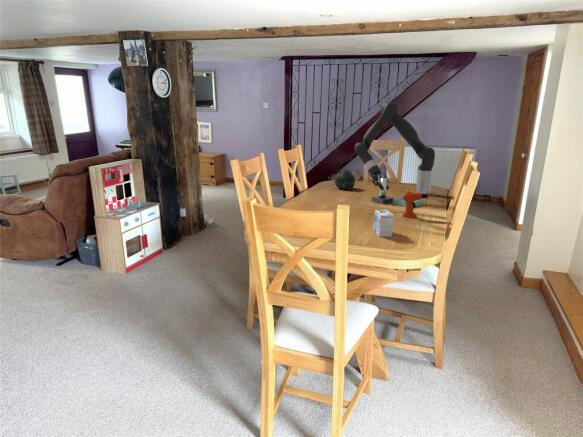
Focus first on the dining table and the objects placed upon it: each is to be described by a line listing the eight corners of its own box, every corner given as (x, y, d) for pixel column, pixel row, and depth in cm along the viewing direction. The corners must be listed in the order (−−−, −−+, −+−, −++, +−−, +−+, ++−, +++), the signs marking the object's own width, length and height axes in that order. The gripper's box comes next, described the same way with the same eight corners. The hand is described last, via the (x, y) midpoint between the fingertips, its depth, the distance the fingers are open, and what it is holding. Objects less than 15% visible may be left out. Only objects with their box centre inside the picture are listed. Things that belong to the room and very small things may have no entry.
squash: (342, 178, 319) (337, 165, 308) (360, 181, 310) (355, 168, 299) (335, 192, 313) (329, 180, 302) (352, 196, 305) (347, 183, 294)
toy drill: (437, 217, 226) (437, 190, 222) (402, 219, 231) (401, 193, 228) (437, 215, 230) (436, 189, 227) (402, 216, 236) (401, 191, 232)
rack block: (405, 201, 270) (406, 196, 270) (422, 204, 260) (422, 200, 260) (392, 203, 263) (393, 199, 262) (409, 207, 253) (409, 203, 252)
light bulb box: (372, 230, 207) (374, 209, 204) (385, 230, 207) (387, 209, 204) (379, 237, 197) (380, 215, 194) (392, 236, 197) (394, 215, 194)
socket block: (381, 199, 275) (381, 194, 274) (393, 202, 267) (393, 197, 266) (371, 201, 269) (371, 196, 268) (382, 204, 261) (383, 199, 261)
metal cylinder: (382, 198, 271) (383, 177, 267) (386, 199, 267) (388, 178, 264) (378, 199, 268) (379, 178, 264) (382, 200, 265) (384, 179, 261)
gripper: (368, 165, 264) (381, 187, 258) (383, 163, 272) (396, 184, 266) (361, 172, 269) (374, 194, 263) (376, 170, 277) (389, 191, 271)
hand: (385, 189), depth 264 cm, fingers closed on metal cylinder, 4 cm apart
